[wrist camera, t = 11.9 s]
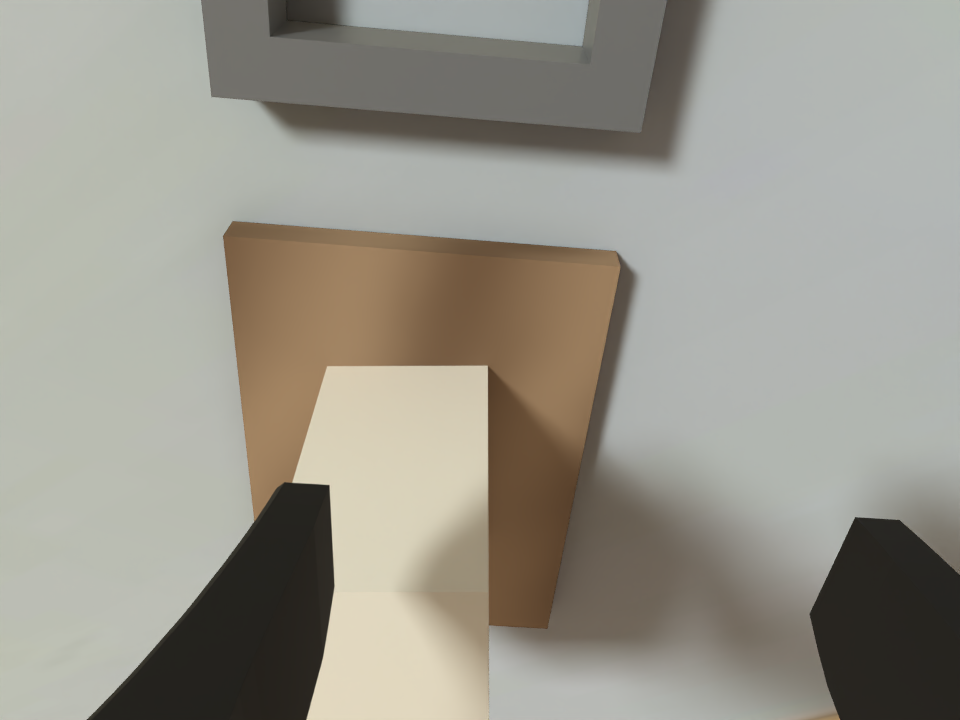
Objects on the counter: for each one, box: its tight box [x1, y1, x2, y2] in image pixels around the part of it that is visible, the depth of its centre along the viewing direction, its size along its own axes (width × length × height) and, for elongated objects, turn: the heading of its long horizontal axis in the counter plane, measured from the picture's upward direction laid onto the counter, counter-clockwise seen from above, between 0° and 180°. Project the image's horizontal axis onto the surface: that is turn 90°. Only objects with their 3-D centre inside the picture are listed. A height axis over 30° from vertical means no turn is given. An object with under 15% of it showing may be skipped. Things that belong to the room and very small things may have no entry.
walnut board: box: [223, 221, 621, 629], centre depth 22 cm, size 9×13×1 cm
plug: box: [292, 366, 489, 720], centre depth 18 cm, size 4×6×7 cm, turn 1°
